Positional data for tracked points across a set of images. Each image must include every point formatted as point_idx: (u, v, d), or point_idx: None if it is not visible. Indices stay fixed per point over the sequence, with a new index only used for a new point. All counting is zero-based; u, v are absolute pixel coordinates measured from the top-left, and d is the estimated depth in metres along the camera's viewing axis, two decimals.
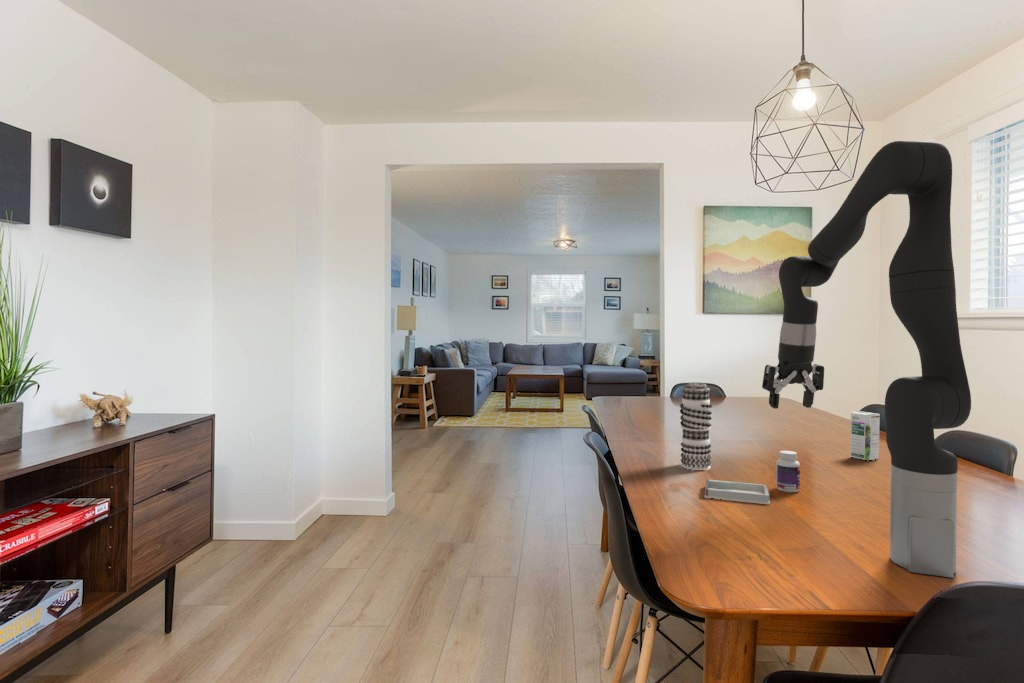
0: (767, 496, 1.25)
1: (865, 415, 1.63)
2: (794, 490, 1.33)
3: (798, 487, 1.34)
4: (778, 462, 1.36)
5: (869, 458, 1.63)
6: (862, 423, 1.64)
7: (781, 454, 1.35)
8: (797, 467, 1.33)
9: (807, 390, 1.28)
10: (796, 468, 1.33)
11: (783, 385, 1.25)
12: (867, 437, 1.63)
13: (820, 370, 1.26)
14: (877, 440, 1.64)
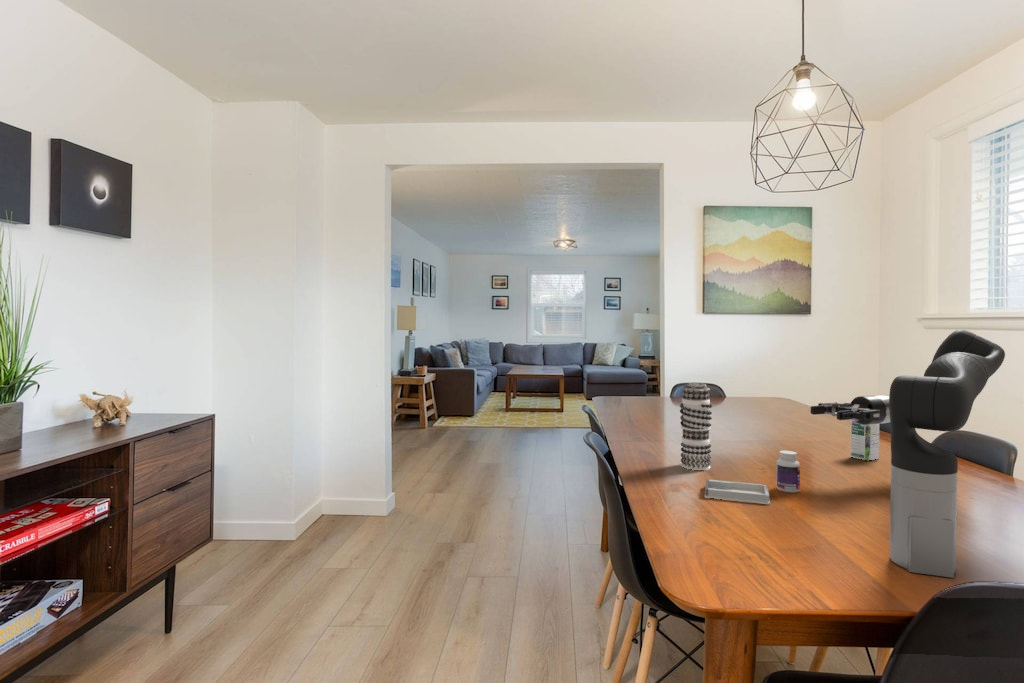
0: (767, 496, 1.25)
1: None
2: (794, 490, 1.33)
3: (798, 487, 1.34)
4: (778, 462, 1.36)
5: (869, 458, 1.63)
6: None
7: (781, 454, 1.35)
8: (797, 467, 1.33)
9: None
10: (796, 468, 1.33)
11: (832, 403, 1.43)
12: (867, 437, 1.63)
13: (873, 410, 1.34)
14: (877, 440, 1.64)
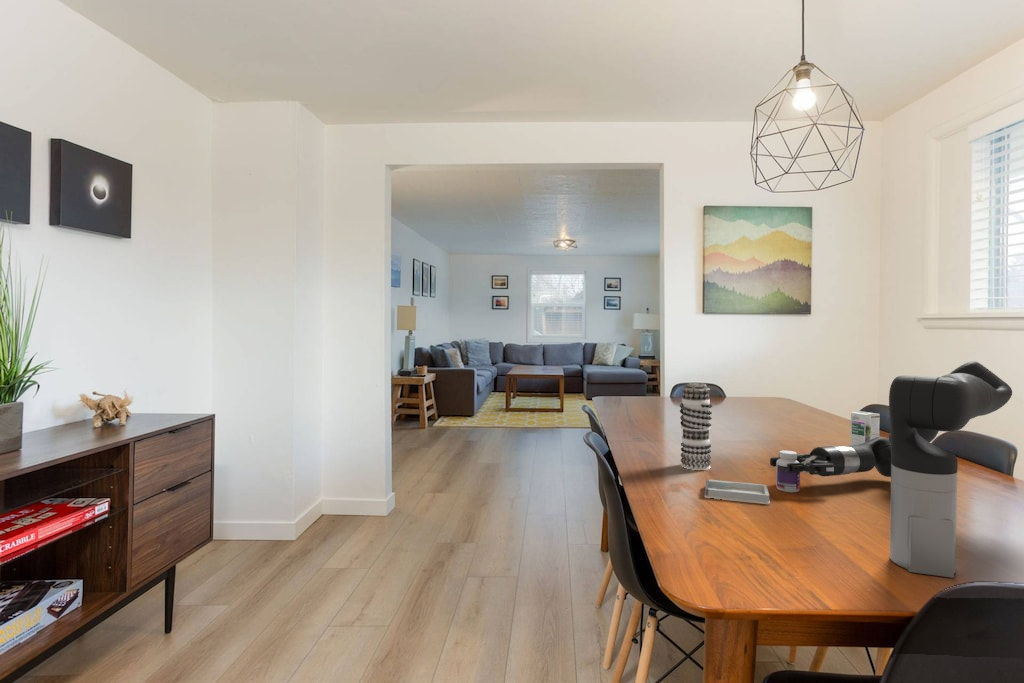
0: (767, 496, 1.25)
1: (865, 415, 1.63)
2: (794, 490, 1.33)
3: (798, 487, 1.34)
4: (778, 462, 1.36)
5: None
6: (862, 423, 1.64)
7: (781, 454, 1.35)
8: None
9: None
10: None
11: None
12: (867, 437, 1.63)
13: (828, 463, 1.32)
14: None
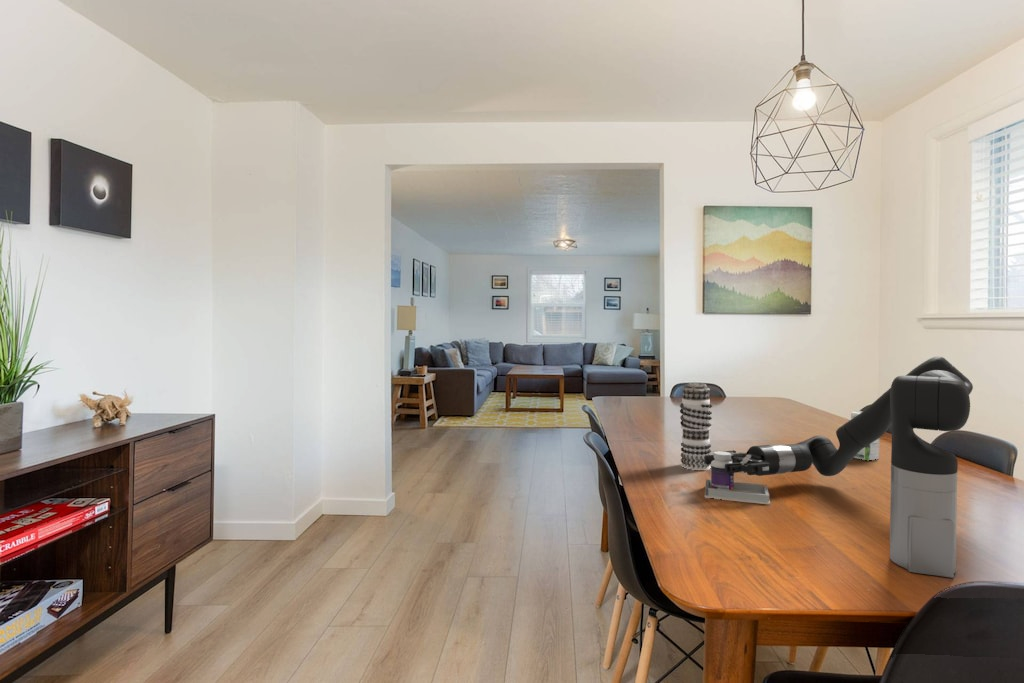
0: (767, 496, 1.25)
1: None
2: None
3: (731, 489, 1.31)
4: (712, 463, 1.33)
5: (869, 458, 1.63)
6: None
7: (715, 455, 1.33)
8: None
9: None
10: None
11: None
12: None
13: (763, 462, 1.29)
14: (877, 440, 1.64)
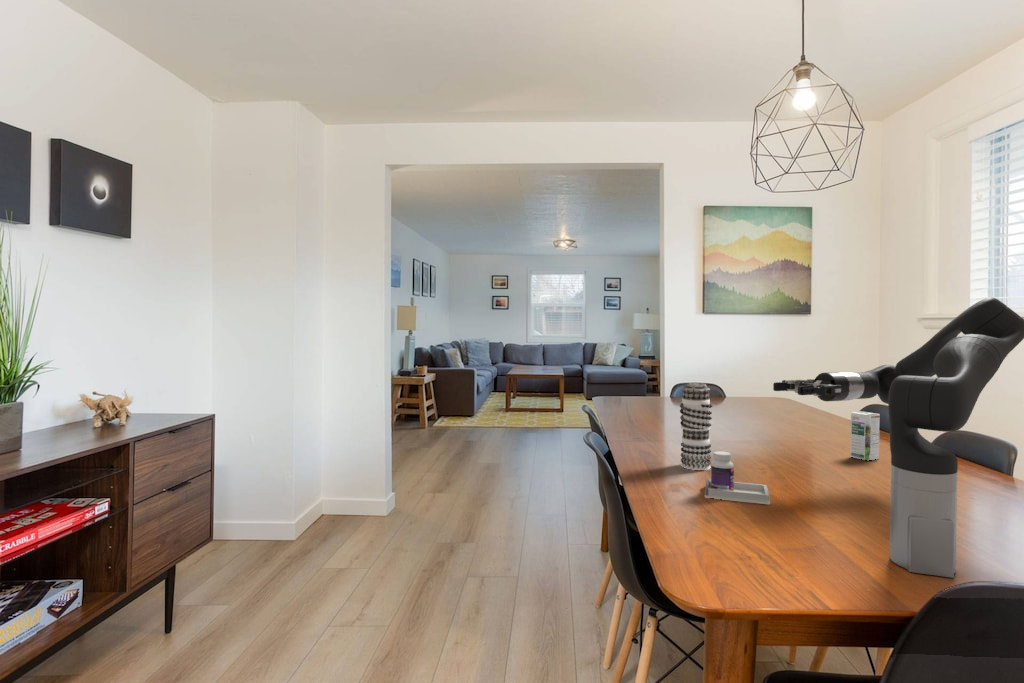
0: (767, 496, 1.25)
1: (865, 415, 1.63)
2: None
3: (731, 489, 1.31)
4: (712, 463, 1.33)
5: (869, 458, 1.63)
6: (862, 423, 1.64)
7: (715, 455, 1.33)
8: (731, 469, 1.31)
9: None
10: (729, 469, 1.31)
11: (795, 380, 1.40)
12: (867, 437, 1.63)
13: (835, 385, 1.32)
14: (877, 440, 1.64)
